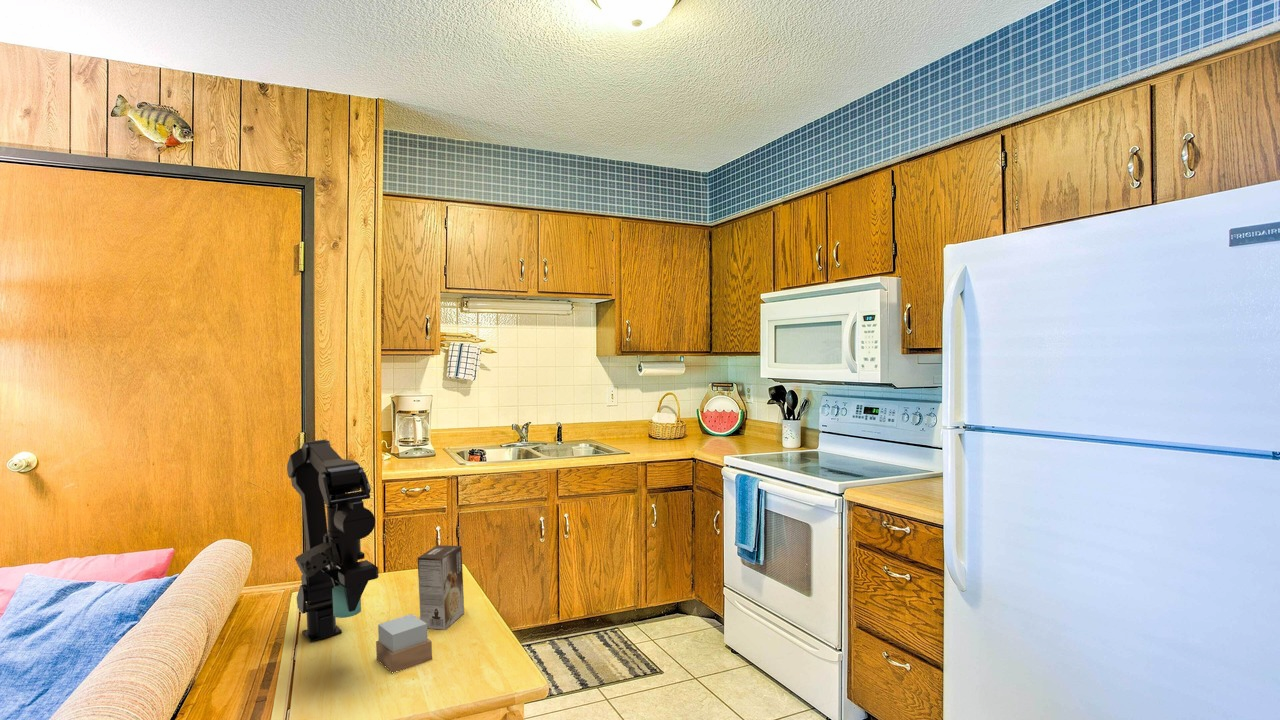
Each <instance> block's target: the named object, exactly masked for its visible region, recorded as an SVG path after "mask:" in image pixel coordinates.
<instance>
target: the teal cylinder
mask: <svg viewBox="0 0 1280 720" xmlns="http://www.w3.org/2000/svg"><path fill="white" fill-rule="evenodd" d="M332 595H333V616H334V617H336V619H346V618H350V617H354V616H357V615H359V614H360V613H361V612H362V598H360V600H359V603H358V605H357V607H356V610H355V611H352V612H349V610H348V606H347V601H346V596H345V592H344V587H343V586H341V585H337V586H335V587H334V588H333V589H332Z"/></svg>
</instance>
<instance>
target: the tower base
mask: <svg viewBox="0 0 1280 720" xmlns="http://www.w3.org/2000/svg"><path fill="white" fill-rule="evenodd" d="M432 642H433V641H432V640H430V639H429V638H428V641H426V642H423V643H420V644H417V645H415V646H412V647H409V648H406V649H403V650H400V651H397V652H394V653H393V652H392V651H390V650H389V649H388V648H386V647H385V646H384V645H383V644H381V643H380V642H379V640H377V641H375V647H376V651H375V652H376V660H377V661H378V662H379V663H380V662H381V663H382V664H383V665H384V666H383V665H382V664H381V663H380V664H381V665H382V666H383V667H385V666H386V667H387V668H388V669H389V670H390V671H391V672H393V673H392V674H395V673H394V672H396V671H399V672H401V671H400V670H402V671H404V670H407V669H410V668H412V667H415V666H418V665H421V664H424V663H426V662H428V661H432V660H433V648H432V647H433V646H432V645H433V644H432ZM386 667H385V668H386ZM409 667H410V668H409ZM387 668H386V669H387ZM406 668H407V669H406ZM388 669H387V670H388ZM403 669H404V670H403ZM389 670H388V671H389ZM391 672H390V673H391ZM396 673H397V672H396Z"/></svg>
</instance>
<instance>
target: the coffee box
mask: <svg viewBox="0 0 1280 720" xmlns="http://www.w3.org/2000/svg"><path fill="white" fill-rule="evenodd" d="M462 547H463V546H462V545H442V544H441V545H439V544H438V545H436V546H434V547H432V548H431V549H429V550H427V551H426V552H424V553H422V554H421V555H419V556H418V557H417V570H418V571H417V572H418V573H417V574H418V575H417V576H418V579H417V580H418V594H419V596H418V597H419V598H418V599H419V600H418V601H419V619H420V620H422V621H424V622H425V623H427V629H428V628H429V629H430V630H431V629H433V630H448V629H449V627H450V626H451V625H453V623H455V622H456V621H457V620H458V619H459V618H460V617H462V616H463V615H464V614H465V600H464V598H465V597H464V596H465V595H464V574H463V556H462V555H463V553H462V552H463V551H462ZM429 629H428V630H429Z"/></svg>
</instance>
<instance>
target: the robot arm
mask: <svg viewBox="0 0 1280 720" xmlns="http://www.w3.org/2000/svg"><path fill="white" fill-rule="evenodd" d="M286 465H287V466H286V471H287V477H288V478H289V479H290V480H291V486H292V487H293V489H294V490H295V491H296V492H297V494H299V496H300V498H301V499H300V500H301V507H302V508H301V509H302V517H303V518H302V519H303V526H304V527H303V528H304V535H305V537H304V538H305V545H306V546H305V547H306V551H304V552H303V553H301V554H299V555H297V556H296V557H295V561H296V564H297V566H298V568H299V570H300V572H301V584H300V585H299V588H298V592H297V595H296V604H297V609H298V610H299V612H301V614H306V627H307V629H304V630H303V629H302V631H301V633H302V635H303V636H304V637H305V638H306V639H307V641H309V642H316V641H319V640H323V639H326V638H329V637H333V636H337V635H339V634H342V632H343V631H342V629H341V628H340V627H339V626H338V625H337V620H336V619H337V617H334V616H333V595H332V589H333V588H334V587H335V586H337V585H341V586H343V587H344V592H345V596H346V601H347V606H348V610H349V612H352V611H355V610H356V607H357V605H358V603H359V600H360V598H361V597H362V596H363V593H364V591H365V590H366V587H367V585H368V583H369V581H373V580H377V579H378V578H379V577H380V576H379V567H378V566H377V565H375V564H374V563H373V562H371V561H369V560H368V559H365V557H366V556H365V553H364V552H363V551H362V550H361V549H362V548H361V547H362V546H361V540H362V539H364V538H367V537H368V536H369V535H370V534H371V533H372V532H373V530H374V529H375V526H376V517H375V515H374V513H373V512H372V510H370V509H368V508H366V507H365V505H364V501H363V500H369V499H371V491H372V488H371V486H370V482H369V479H368V476H367V473H366V472H365V470H364V468H363V467H362V466H361V465H360V464H359V463H358V461H355V460H354V459H353V460H352V459H343V458H342V457H341V456H340V455H339V453H337V452H336V451H335V450H334V448H333V447H332V446H331V443H330V440H326V439H317V440H308V441H306V442H304V443H302V445H301V447H300V448H298V449H297V450H296V451H294V452H293V453H292V454H290V455H289V459H288V460H287V464H286ZM325 505H326V506H325ZM359 560H361V561H359ZM361 599H362V598H361Z"/></svg>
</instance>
